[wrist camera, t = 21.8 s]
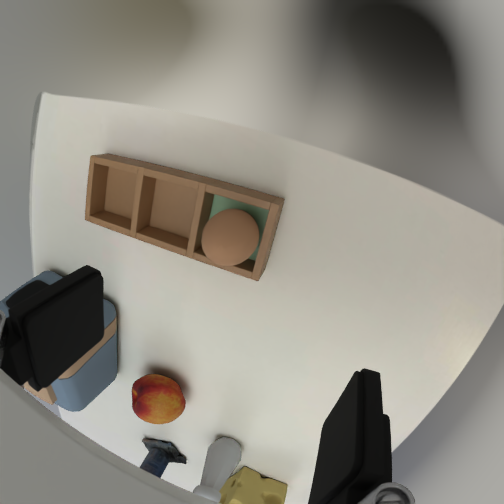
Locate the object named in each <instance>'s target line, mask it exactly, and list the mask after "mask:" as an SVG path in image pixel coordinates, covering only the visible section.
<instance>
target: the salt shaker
mask: <svg viewBox="0 0 504 504" xmlns="http://www.w3.org/2000/svg"><path fill="white" fill-rule="evenodd" d="M240 460H241V447H240V444H239V443H237V442H236V441H235V440H234V439H231V438H227V437H222V438H220V439H218V440H217V441H215V442H214V443H212V444H211V445H210V446H209V448H208V451H207V456H206V461H205V465H204V470H203V474H202V479H201V484H200V485H198V486H197V487H195V489H194V490H193V493H194V494H197V495H199V496H202V497H204V498H207V499H210V500H212V501H215V502H218V503H219V502H220V499H221V493H220V492H219V491H220V489H221V488H222V487H223V485H224V484H225V482H226V481H227V479H228V478H229V477H230V475H231V474H232V472H233V471H234V469H235V468H236V466H237V465H238V463H239V462H240Z"/></svg>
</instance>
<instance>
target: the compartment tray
mask: <svg viewBox="0 0 504 504" xmlns="http://www.w3.org/2000/svg"><path fill="white" fill-rule="evenodd" d="M284 200H285V199H283V198H279V197H276V196H273V195H269V194H266V193H262V192H259V191H255V190H252V189H248V188H245V187H241V186H238V185H234V184H231V183H227V182H223V181H220V180H216V179H212V178H208V177H205V176H201V175H197V174H193V173H189V172H185V171H181V170H177V169H173V168H169V167H165V166H161V165H157V164H152V163H148V162H144V161H139V160H135V159H131V158H126V157H121V156H117V155H112V154H101V155H92V156H91V157H90V165H89V174H88V184H87V196H86V210H85V220H87V221H90V222H92V223H95V224H97V225H100V226H103V227H106V228H108V229H111V230H114V231H116V232H119V233H122V234H125V235H127V236H130V237H133V238H136V239H139V240H141V241H144V242H147V243H150V244H152V245H155V246H158V247H161V248H164V249H166V250H169V251H172V252H175V253H178V254H180V255H183V256H186V257H189V258H193V259H195V260H198V261H200V262H203V263H206V264H209V265H212V266H215V267H218V268H221V269H224V270H227V271H229V272H232V273H235V274H238V275H241V276H244V277H247V278H251V279H253V280H256V281H259V279H260V277H261V275H262V274H263V272H264V270H265V268H266V264H267V261H268V257H269V254H270V250H271V247H272V243H273V240H274V236H275V232H276V229H277V225H278V222H279V218H280V214H281V211H282V207H283V204H284ZM226 209H239V210H243V211H245V212H247V213H249V214H250V215H251V216H252V217H253V218H254V219H255V221H256V223H257V225H258V228H259V242H258V245H257V247H256V249H255V251H254V252H253V254H252V255H251V256H250V257H249V258H248V259H246V260H245V261H243V262H242V263H239V264H237V265H232V266H222V265H218V264H215V263H213V262H212V261H211V260H209V259H208V258H207V256H206V255H205V253H204V251H203V248H202V244H201V240H202V232H203V229H204V227H205V225H206V224H207V222H208V221H209V220H210V219H211V218H212V217H213V216H214V215H215V214H217V213H218V212H220V211H223V210H226Z"/></svg>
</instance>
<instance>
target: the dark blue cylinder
mask: <svg viewBox="0 0 504 504" xmlns="http://www.w3.org/2000/svg"><path fill="white" fill-rule="evenodd" d="M142 442H144V445H145V447H147V449H148V451H149V453H148V455H147V456H146V458H145V460H144V461H143V463H142V464H141V466H140V468H141V469H143V470H145V471H147V472H149V473H151V474H153V475H155V476H157V477H159V478H160V477H161V476H162V474H163V472H164V470H165V468H166V466H167V465H168V463H169V462H175V463H176V462H177V463H183V464H186V463H187V462H186V459H185V458H184V457H182V456H181V457H180V456H179V457H178V454H179V453H178V451H177V449H176V448H174V447H173V446H171V443H169V444H167V443H164V442H161V440H158V441H155V439H154V440H148V439H146V438H143V440H142Z"/></svg>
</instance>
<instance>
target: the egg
mask: <svg viewBox="0 0 504 504" xmlns="http://www.w3.org/2000/svg"><path fill="white" fill-rule="evenodd" d="M258 242H259V228H258V225H257V223H256V221H255V219H254V218H253V217H252V216H251V215H250V214H249V213H247V212H245V211H243V210H239V209H226V210H223V211H220V212H218V213H217V214H215V215H214V216H213V217H212V218H211V219H210V220H209V221H208V222H207V224H206V225H205V227H204V229H203V232H202V240H201V244H202V248H203V251H204V253H205V255H206V256H207V258H208V259H209V260H211V261H212V262H213V263H215V264H218V265H222V266H232V265H237V264H239V263H242V262H243V261H245V260H246V259H248V258H249V257H250V256H251V255H252V254H253V252H254V251H255V249H256V247H257V245H258Z"/></svg>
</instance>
